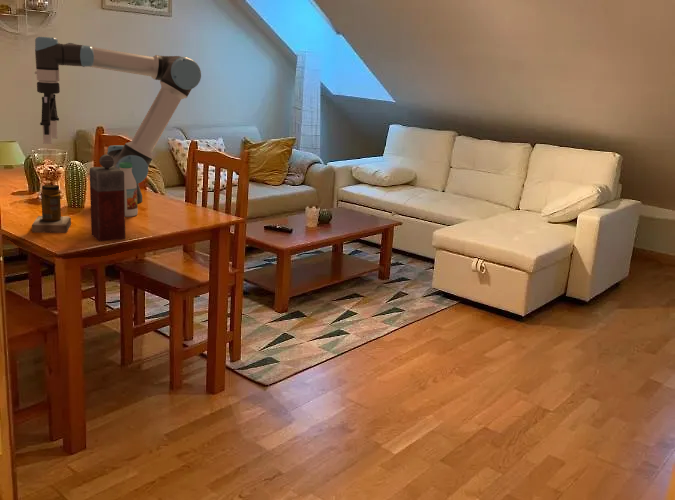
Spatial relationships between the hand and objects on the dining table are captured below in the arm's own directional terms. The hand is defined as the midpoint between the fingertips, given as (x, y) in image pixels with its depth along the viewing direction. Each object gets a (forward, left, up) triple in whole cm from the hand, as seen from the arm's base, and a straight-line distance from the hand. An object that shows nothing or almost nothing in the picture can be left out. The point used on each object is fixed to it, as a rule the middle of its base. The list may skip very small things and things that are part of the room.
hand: (50, 141), depth 255 cm
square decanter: (-22, +33, -27) cm, 48 cm away
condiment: (-3, +25, -24) cm, 35 cm away
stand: (-3, +24, -27) cm, 36 cm away
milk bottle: (-27, +3, -27) cm, 38 cm away
